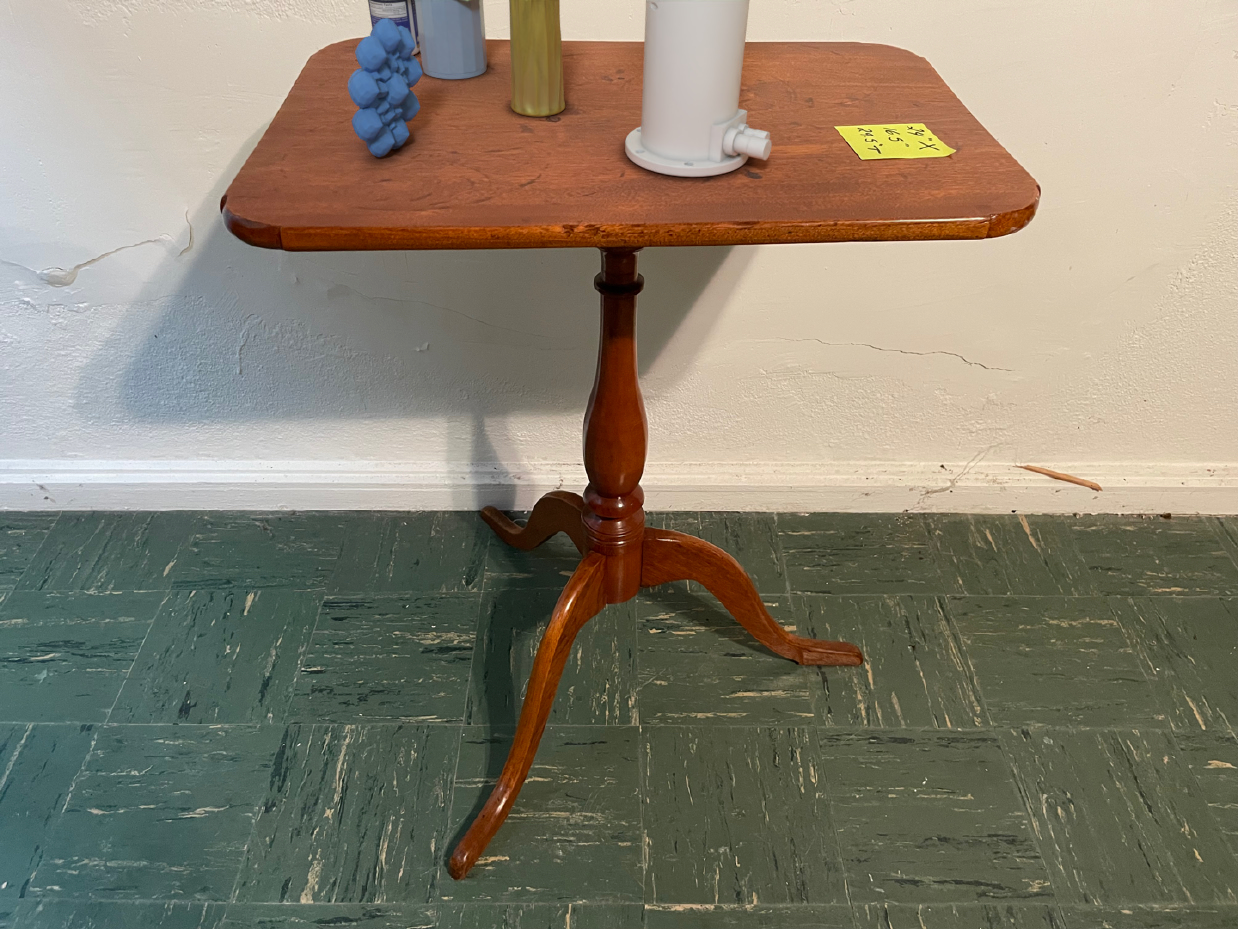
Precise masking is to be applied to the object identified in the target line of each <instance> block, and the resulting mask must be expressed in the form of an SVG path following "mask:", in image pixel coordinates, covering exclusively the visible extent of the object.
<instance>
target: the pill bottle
mask: <svg viewBox="0 0 1238 929" xmlns="http://www.w3.org/2000/svg"><path fill="white" fill-rule="evenodd" d="M367 2H368V10H369V16H370V23H371V30H372V29H373V27H374V25H375V24H376V23H377V22H378V21H379V20H380V19H384V18H388V19H390V20H392V21H394V23H395V24H396V26H397V27H398V26H403V27H405V28H407V29H408V30H409V32H410V33H411V34H412V36H413V39H414V42H415V45H416V46H415V49H414V50H413V52H412V54H411V55H412V56H414V55H417V54H418V53H419V52H420V44H419V35H418V26H417V18H416V9H415V0H367Z"/></svg>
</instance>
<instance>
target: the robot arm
mask: <svg viewBox="0 0 1238 929" xmlns="http://www.w3.org/2000/svg"><path fill="white" fill-rule="evenodd" d="M749 9H750V0H645V17H644V38H643V39H644V40H643V41H644V43H643V67H642V68H643V69H642V70H643V71H642V92H641V93H642V94H641V95H642V96H641V121H640V123H641V124H640V126H638V127H636V128H635V129H633V130H632V131H630V132H629V133H628V135H627V136H626V137H625V141H624V152H625V154H626V156H627V158H629V160H630V161H631V162H633V163H634V164H635V165H637V166H639V167H641V168H643V169H645V170H648V171H651V172H655V173H657V174H661V175H666V176H674V177H685V178H702V177H703V178H705V177H715V176H718V175H724V174H727V173H730V172H733V171H735V170H737V169H739V168H741V167H742V166H743V165H744V164H746V162H747V161H748V159H749V158H754V159H758V160H762V161H767V160H768V159H769V157H770V154H771V153H772V152H771V151H772V147H773V146H772V145H773V142H772V140H771V133H770V131H767V130H762V129H759V128H758V129H757V128H751V127H750V125H749V124H747V120H748V110H746V109H742V108H739V105H740V104H739V103H740V95H741V87H742V86H741V85H742V76H743V66H744V56H745V47H746V39H747V38H746V37H747V28H748V18H749Z"/></svg>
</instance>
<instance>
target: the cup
mask: <svg viewBox="0 0 1238 929" xmlns="http://www.w3.org/2000/svg"><path fill="white" fill-rule="evenodd" d="M484 8H485V7H484V0H470V1H465V0H415V9H416V18H417V26H418V35H419V44H420V51H419V52H420V53H419V54H420V61H421V69H422V72H423V74H425V75H427V76H429V77H432V78H436V79H443V80H465V79H472V78H476V77H478V76H481V75H482V74H484V73H485V72H487V70H488V57H487V56H488V54H487V40H486V39H487V38H486V24H485V11H484Z"/></svg>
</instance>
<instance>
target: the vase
mask: <svg viewBox="0 0 1238 929" xmlns="http://www.w3.org/2000/svg"><path fill="white" fill-rule="evenodd" d="M508 4H509V9H508V10H509V47H510V48H509V51H510V56H509V57H510V108H511V109H512V110H513V111H514V112H515V113H517V114H519V115H522V116H526V117H535V118H541V117H550V116H554V115H558V114H560V113H562V112H563V111H564V110H565V109H566V102H565V96H564V95H565V92H564V91H565V88H564V86H565V85H564V65H563V64H564V63H563V43H562V42H563V41H562V30H561V29H562V28H561V14H560V12H561V10H560V9H561V8H560V6H561V4H560V0H508Z"/></svg>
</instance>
